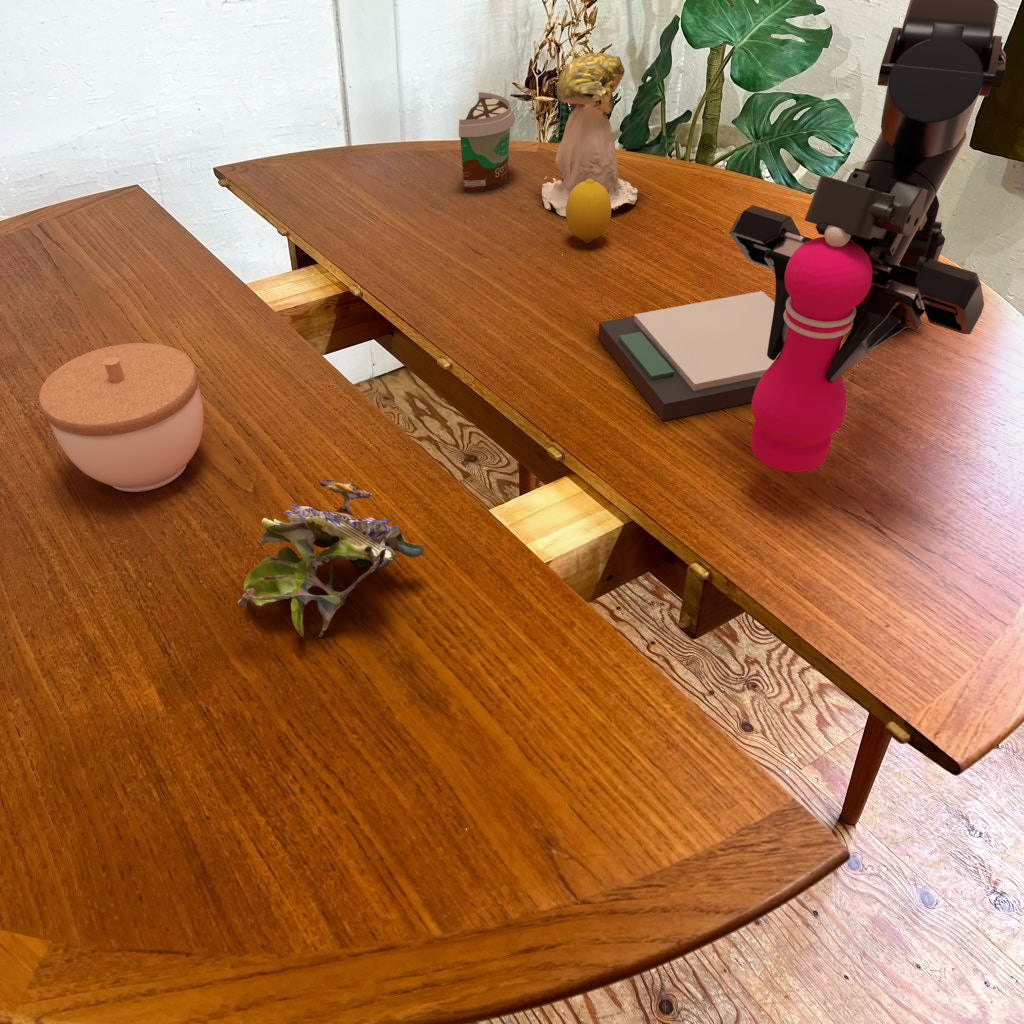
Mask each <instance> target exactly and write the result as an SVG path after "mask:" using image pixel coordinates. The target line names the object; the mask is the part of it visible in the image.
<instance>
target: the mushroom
mask: <svg viewBox="0 0 1024 1024" xmlns="http://www.w3.org/2000/svg"><path fill="white" fill-rule="evenodd" d="M625 70H626V69H625V67H624V65H623V63H622V59H621V57H620V56H618V55H616V56H615V55H611V54H609V53H604V52H589V53H584V54H582V55H580V56H578V57H576V58H575V59H573V60H570V61H569V62H568V63H567V65H566V66H565V67H564V70H563V72H562V73H561V75H560V73H559V72H556V75H558V74H559V75H560V77H559V79H558V82H557V86H556V93H557V96H556V97H557V100H558V101H560V102H562V103H565V104H569V105H570V107H571V112H570V114H569V116H568V119H567V120H566V124H565V126H564V133H563V134H562V139H561V141H559V143H558V149H557V151H556V155H555V164H556V166H557V168H558V169H559V171H560V173H561V174H562V180H561V179H556V178H555V177H553V178H552V181H553V182H550V181H547V182H546V183H542V185H541V200H542V201H543V206H544V208H545V209H547V210H548V211H551V210H552V207H553V208H554V209H555V212H556V214H558V215H559V216H560V217H565V218H566V205H567V201H568V198H569V195H570V193H571V191H572V189H573V188H574V187H575V186H576V185H578V184H579V183H581V182H584V181H586V180H587V179H593V181H595V182H598V183H600V184H601V185H602V186H603V187H604V188H605V189H606V190H607V192H608V194H609V197H610V201H611V209H613V211H616V210H618V209H619V207H621V206H622V205H624V204H626V203H627V204H632V205H635V204H636V201H637V199H638V192H639V191H638V188H637V187H633V186H632V184H631V183H630V182H629V181H626V179H625V180H624V179H622V178H619V169H618V161H617V150H616V143H615V136H614V133H613V129H612V126H611V122H610V120H609V117H608V115H607V114H610V113H611V112H612V111H613V110H614V95H613V93H615V91H616V90H617V89H618V86H619V85H620V83H621V81H622V80H623V78H624V76H625V75H624V74H625ZM547 179H548V176H547V175H546V176H545V177H544V178H543V180H545V181H546V180H547ZM551 206H552V207H551Z"/></svg>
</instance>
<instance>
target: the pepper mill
mask: <svg viewBox="0 0 1024 1024" xmlns="http://www.w3.org/2000/svg"><path fill="white" fill-rule="evenodd" d="M850 238H851V234H847V233H845V231H844V229H842V228H838V227H835V226H832V225H828V226H827V228H826V230H825V234H824V235H823V236H821V237H816V238H811V239H812V240H810V241H808V242H806V243H804V244H802V245H801V246H800V247H799V248H798V249H797V250H796V251H795V252H794V253H793V255H792V256H791V258H790V259H789V262H788V264H787V267H786V271H785V277H784V280H785V286H786V290H787V292H788V294H789V295H790V297H789V298H788V299H787V301H786V310H785V311H784V321H785V322H786V324H787V325H788V333H787V337H786V340H785V344H784V346H783V348H782V350H781V352H780V354H779V355H778V357H777V358H776V359H775V361H774V362H773V363H772V364H771V366H770V367H769V368H768V369H767V370H766V372H765V373H764V374H763V376H762V377H761V379H760V381H759V383H758V384H757V386H756V389H755V392H754V395H753V398H752V402H751V403H750V404H751V412H752V415H753V418H754V420H755V422H754V423H753V426H752V430H751V435H750V440H749V441H750V442H749V444H750V449H751V451H752V453H753V455H754V456H755V457H756V459H758V460H759V461H760V462H761V463H763V464H765V465H766V466H768V467H770V468H772V469H776V470H779V471H783V472H788V473H804V472H808V471H813V470H814V469H816V468H818V467H820V466H821V465H823V464H824V462H825V461H826V459H827V457H828V454H829V450H830V447H831V443H832V435H833V434H834V433H835V432H837V430H838V429H839V428H840V427H841V425H842V424H843V421H844V419H845V413H846V408H847V396H846V395H847V394H846V388H845V384H844V380H843V377H842V376H841V377H839V378H838V379H837V380H836V381H835V382H833V383H829V382H827V380H826V375H827V373H828V370H829V368H830V366H831V364H832V362H833V360H834V358H835V356H836V355H837V353H838V352H839V350H840V348H841V343H842V341H843V339H844V336H845V335H846V334H847V333H850V332H851V331H852V329H853V328H852V327H853V319H854V317H855V315H856V308H855V306H857V305H858V304H859V303H860V302H862V301H863V300H864V298H865V297H866V295H867V294H868V292H869V289H870V287H871V282H872V265H871V261H870V259H869V257H868V255H867V253H866V252H865V251H864V250H863V249H862V248H861V247H860V246H859V245H857V244H856V243H854V242H853V241H850Z"/></svg>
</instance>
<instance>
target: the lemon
mask: <svg viewBox="0 0 1024 1024" xmlns="http://www.w3.org/2000/svg"><path fill="white" fill-rule="evenodd" d="M611 218H612V208H611V201H610V197H609V194H608V192H607V190H606V189H605V188H604V187H603V186H602V185H601V184H600V183H598V182H595V181H593V179H587V180H586V181H584V182H581V183H579V184H578V185H576V186H575V187H574V188H573V189H572V191H571V193H570V195H569V198H568V201H567V205H566V217H565V219H566V223H567V227H568V229H569V230H570V232H571V233H572V234H573V235H574V236H575V237H577V238H578V239H580V240H582V242H584V243H587V244H588V243H589V244H590V243H591V242H592V241H593V240H595V239H598V238H600V237H601V236H602V235H604V233H605V232H606V231H607V230H608V227H609V226H610V223H611V220H612V219H611Z"/></svg>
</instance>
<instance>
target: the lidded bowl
mask: <svg viewBox="0 0 1024 1024" xmlns="http://www.w3.org/2000/svg"><path fill="white" fill-rule="evenodd" d="M195 365H196V364H195V363H194V361H193V360H192V359H191V357H189V355H187V354H186V353H184V352H183V351H181V350H179V349H178V348H175V347H172V346H169V345H166V344H160V343H152V342H151V343H150V342H131V343H122V344H115V345H110V346H105V347H101V348H99V349H94V350H92V351H89V352H86V353H84V354H81V355H79V356H76V357H74V358H72V359H71V360H68V361H67V362H65V363H64V364H62V365H61V366H59V367H58V368H57V369H55V370H54V371H53V372H52V373H51V374H50V375H49V376H48V377H47V378H46V379H45V381H44V382H43V384H42V386H41V388H40V391H39V392H38V403H39V407H40V410H41V412H42V414H43V416H44V418H45V419H46V420H47V422H48V424H49V427H50V430H51V431H52V434H53V436H54V438H55V440H56V441H57V443H58V444H59V446H60V448H61V450H62V451H63V452H64V454H65V455H66V457H67V458H68V460H69V461H70V462H71V463H72V464H73V465H74V466H75V467H76V468H77V469H78V470H80V471H81V472H82V473H83V474H84V475H86V476H88V477H90V478H91V479H93V480H94V481H97V482H100V483H102V484H105V485H108V486H111V487H112V488H113V489H116V490H118V491H122V492H127V493H128V492H129V493H139V492H147V491H151V490H155V489H158V488H161V487H164V486H165V485H168V484H169V483H172V482H173V481H175V480H176V479H177V478H178V477H179V476H181V474H182V473H183V472H184V471H185V470H186V468H187V465H188V463H190V462H191V460H192V458H193V457H194V455H195V454H196V452H197V450H198V448H199V445H200V443H201V441H202V438H203V437H202V436H203V431H204V417H205V414H204V407H203V406H204V405H203V400H202V399H203V398H202V395H201V391H200V386H199V378H198V372H197V368H196V366H195Z"/></svg>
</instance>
